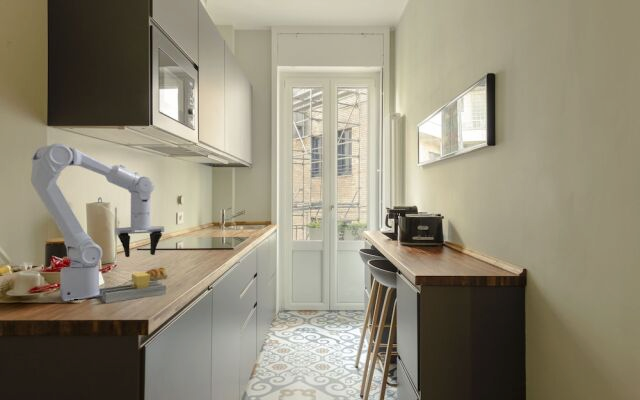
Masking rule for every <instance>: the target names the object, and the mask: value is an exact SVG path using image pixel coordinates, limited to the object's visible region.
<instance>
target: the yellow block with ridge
mask: <svg viewBox="0 0 640 400" xmlns="http://www.w3.org/2000/svg"><path fill="white" fill-rule="evenodd" d="M145 272H146V271H144V272H136V273H135V272H134V273H131V283H132V284H134V286H137V289H138V288H145V287H148V283H150V282H151V281H150V275H149V274H147V273H145Z"/></svg>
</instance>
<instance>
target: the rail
mask: <svg viewBox="0 0 640 400" xmlns="http://www.w3.org/2000/svg"><path fill="white" fill-rule="evenodd" d="M166 294H167V285H166V284H162V282H159V280H155V281H150V283H148V287H145V288H138V289H137V286H134V283H130V284H121V285H115V286H114V285H113V286H108V287H107V286H106V287H99V299H101V301H103V302H104V303H105V304H110V303H111V304H112V303H116V302H117V303H118V302H123V301H128V300H136V299H141V298H148V297H154V296H160V295H166Z"/></svg>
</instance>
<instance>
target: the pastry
mask: <svg viewBox="0 0 640 400" xmlns="http://www.w3.org/2000/svg"><path fill="white" fill-rule="evenodd" d="M144 272H145V273H147V274H149V275H150V282H151V281H160V280H166V279H167V278H168V277H169V273H168V272H167V270H166V269H165V267H159V268H151V269H149V270H147V271H144Z"/></svg>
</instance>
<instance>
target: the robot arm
mask: <svg viewBox="0 0 640 400" xmlns="http://www.w3.org/2000/svg"><path fill="white" fill-rule="evenodd" d="M31 163H32V165H31V176H30V182H31V185H32V187H33V188H34V190H35V191H36V193H37V195H38V196H39V199H40V200H41V201H42V203H43V205H44V207H45V208H46V210H47V212H48V214H49V215H50V216H51V218H52V220H53V221H54V223H55V225H56V227H57V229H58V230H59V232H60V233H61V235H62V237H63V238H64V240H63V242H64V243H63V244H64V246H65V248H66V255H67V258H68V259H69V260H70V263H69V266H66V267H61V268H60V277H59V278H60V279H59V280H60V281H59V283H60V285H59V286H60V289H59V297H60V296H61V297H60V298H61V300H62V301H63V302H69V301H70V300H71V301H75V300H74V299H78V300H84V299H91V298H98V297H99V288H100V261H101V260H102V258H103V255H104V253H103V249H102V248H101V246H100V245H99V244H97V243H96V242H94V240H93V238H91V236H90V235H89V234H88V233H87V232H86V231H85V230H84V228H83V227H82V225H81V223H80V221H79V219H78V217H77V216H76V214H75V213H74V211H73V209H72V207H71V205H70V204H69V202H68V199H66V196H65V195H64V193H63V192H62V190H61V188H60V185H59V184H58V183H57V181H58V178H59V177H60V176H61V173H62V172H63V171H64V170H65V168H66V167H70V166H71V167H73V166H76V167H77V166H78V167H81V168H83V169H86V170H89V171H91V172H93V173H96V174H99V175H102V176H104V177H105V179H106V180H107V182H109V183H110V184H112V185H115V186H117V187H119V188H122V189H124V190H127V191H128V192H129V193H130V227H129V226H127V227H115V228H114V235H117V237H118V239H119V241H120V243H121V245H122V248H123V250H124V255H125V258H130V257H131V255H130V253H131V252H130V243H131V235H132V234H147V233H148V234H149V240H150V241H149V242H150V252H149V253H150V255H151V256H154V255H156V249H157V246H158V244H159V242H160V239H161V238H162V235H163V233H165V226H164V225H163V226H161V225H160V226H156V225H155V226H151V194H152V192H153V191H154V190H155V185H153V181H152V180H151V179H150V178H149V177H147V176H140V173H138V172H133V171H131V170H128V169H127V168H126V166H125V165H122V164H120V165H118V164H116V165H112V166H111V165H108V164H106V163H104V162H102V161H100V160H99V159H97V158H94V157H92V156H90V155H88V154H87V153H84V152H82V151H80V150H78V149H77V148H74V147H71V146H70V147H69V146H67V145H66V144H63V143H53V144H51V145H44V146H41V147H39V148H38V149H36V150H35V153H34V154H33V156H32V158H31ZM130 234H131V235H130ZM99 298H100V297H99Z"/></svg>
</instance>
